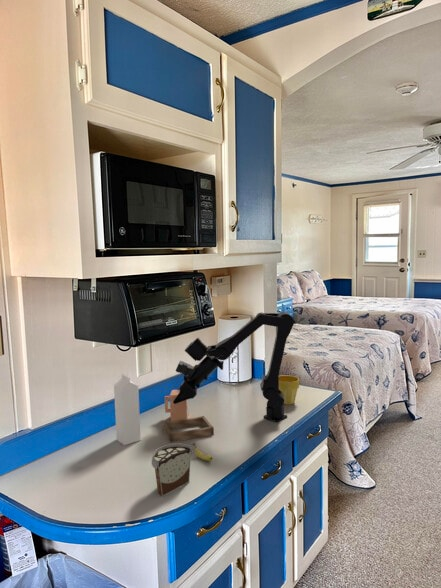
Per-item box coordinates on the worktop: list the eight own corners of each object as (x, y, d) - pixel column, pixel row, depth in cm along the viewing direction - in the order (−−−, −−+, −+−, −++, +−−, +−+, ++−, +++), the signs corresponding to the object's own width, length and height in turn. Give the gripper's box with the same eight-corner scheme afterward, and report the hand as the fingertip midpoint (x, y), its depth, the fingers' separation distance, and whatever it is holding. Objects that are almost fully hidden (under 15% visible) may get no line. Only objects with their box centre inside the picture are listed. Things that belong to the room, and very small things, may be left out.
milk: (124, 445, 142) (120, 379, 139) (116, 439, 146) (112, 375, 144) (141, 440, 145) (138, 375, 143) (133, 434, 150) (129, 371, 147)
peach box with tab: (188, 415, 166) (187, 389, 165) (187, 421, 160) (186, 395, 159) (167, 415, 166) (166, 389, 165) (164, 421, 160) (163, 395, 159)
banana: (191, 456, 134) (191, 443, 133) (195, 454, 135) (195, 441, 134) (210, 465, 128) (210, 452, 128) (214, 462, 129) (214, 449, 129)
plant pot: (287, 395, 185) (287, 373, 184) (304, 402, 176) (304, 379, 175) (268, 400, 180) (268, 377, 179) (284, 408, 171) (284, 384, 170)
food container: (178, 472, 124) (177, 438, 123) (193, 480, 120) (192, 445, 119) (143, 490, 115) (141, 454, 114) (157, 499, 111) (156, 461, 110)
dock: (204, 422, 159) (203, 416, 158) (213, 434, 148) (213, 427, 148) (162, 429, 154) (162, 422, 153) (169, 442, 143) (169, 434, 143)
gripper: (191, 348, 170) (163, 376, 171) (185, 360, 151) (155, 392, 153) (211, 368, 170) (184, 395, 172) (208, 382, 152) (178, 413, 153)
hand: (175, 398), depth 163 cm, fingers open, 9 cm apart
